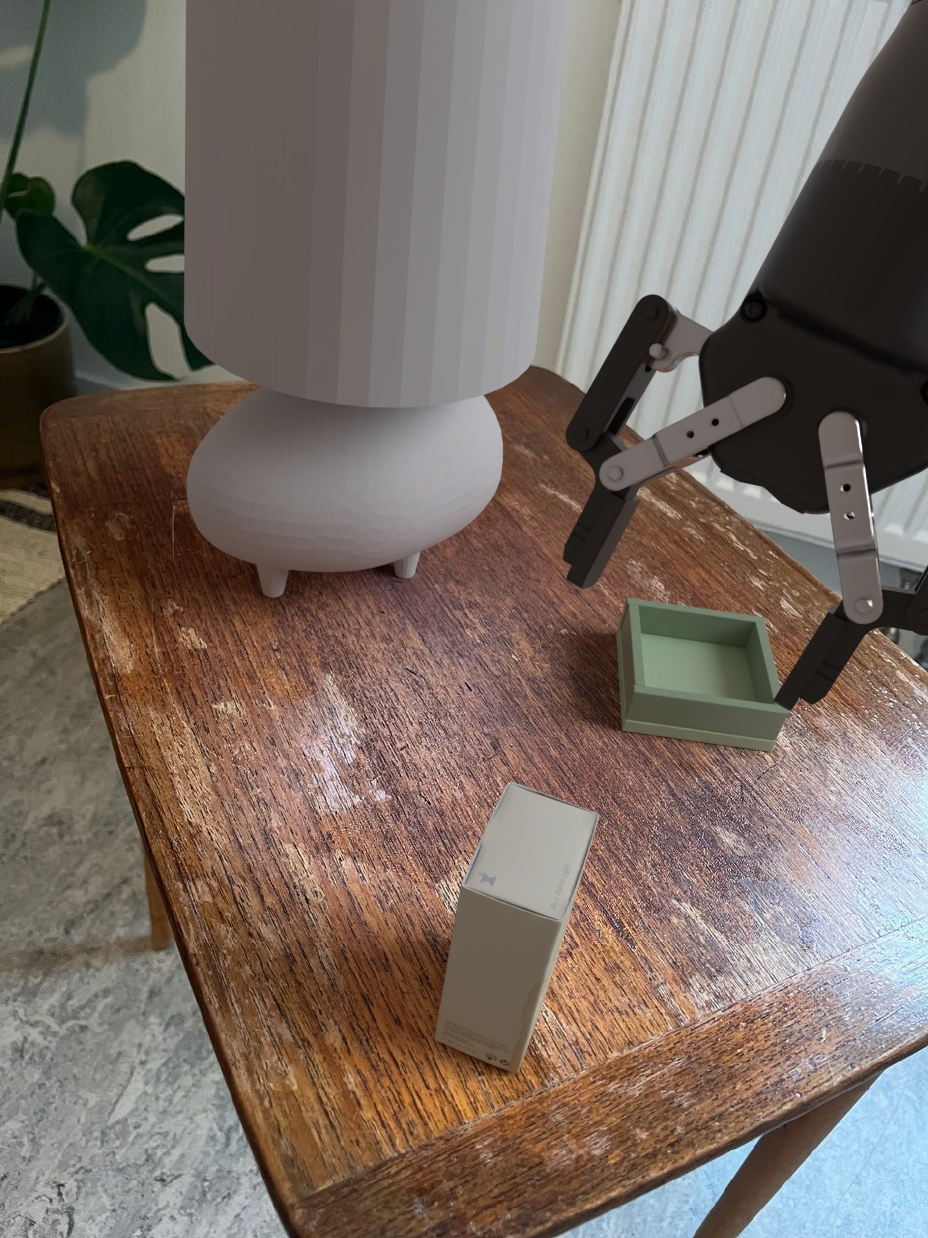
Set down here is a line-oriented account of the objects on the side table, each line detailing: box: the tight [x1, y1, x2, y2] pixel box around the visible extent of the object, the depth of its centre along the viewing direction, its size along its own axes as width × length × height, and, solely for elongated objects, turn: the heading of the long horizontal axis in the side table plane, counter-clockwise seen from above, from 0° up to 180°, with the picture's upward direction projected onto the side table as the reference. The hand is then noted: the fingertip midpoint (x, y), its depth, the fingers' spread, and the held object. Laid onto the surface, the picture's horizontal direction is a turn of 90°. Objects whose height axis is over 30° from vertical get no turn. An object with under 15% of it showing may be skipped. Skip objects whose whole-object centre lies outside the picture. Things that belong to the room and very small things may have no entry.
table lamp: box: [183, 0, 571, 598], centre depth 59 cm, size 23×22×40 cm
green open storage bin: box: [615, 597, 789, 753], centre depth 65 cm, size 10×10×4 cm
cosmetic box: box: [434, 781, 600, 1074], centre depth 43 cm, size 6×4×12 cm
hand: (678, 641), depth 35 cm, fingers open, 8 cm apart
